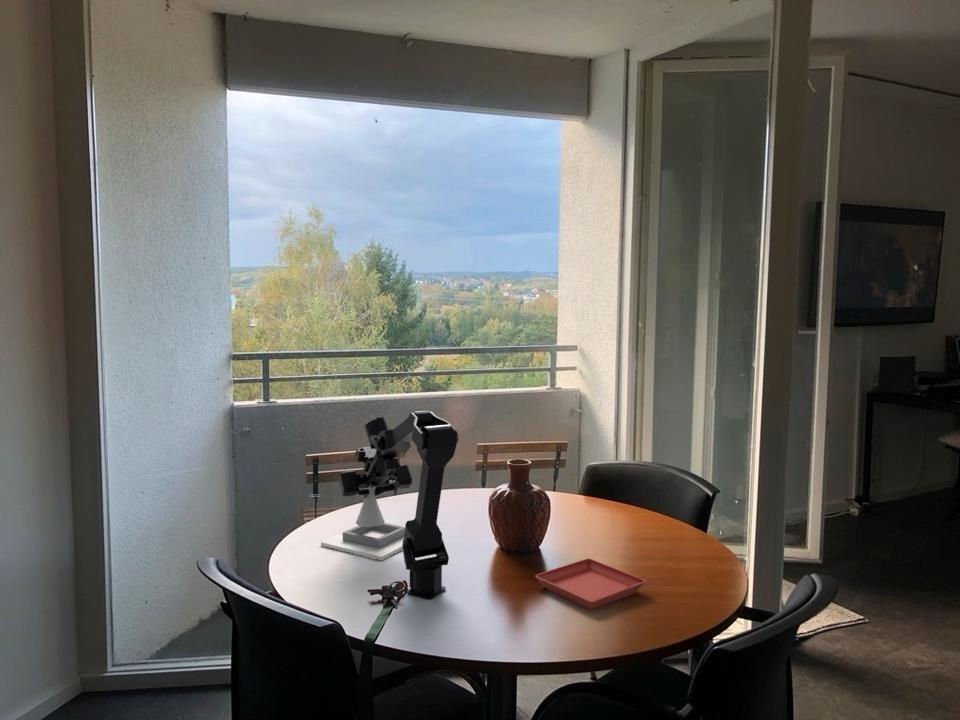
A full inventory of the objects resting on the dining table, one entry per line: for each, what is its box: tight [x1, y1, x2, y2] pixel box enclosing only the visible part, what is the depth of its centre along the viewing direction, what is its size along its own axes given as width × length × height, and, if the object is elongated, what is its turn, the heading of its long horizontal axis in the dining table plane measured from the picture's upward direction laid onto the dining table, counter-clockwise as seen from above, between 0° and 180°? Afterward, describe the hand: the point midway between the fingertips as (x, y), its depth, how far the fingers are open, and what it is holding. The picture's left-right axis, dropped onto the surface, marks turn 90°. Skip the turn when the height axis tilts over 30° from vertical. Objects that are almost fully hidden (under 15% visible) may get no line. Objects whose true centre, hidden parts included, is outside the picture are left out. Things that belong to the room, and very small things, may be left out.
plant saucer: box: [534, 558, 647, 610], centre depth 163 cm, size 18×18×3 cm
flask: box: [355, 486, 386, 527], centre depth 192 cm, size 7×7×10 cm
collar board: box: [320, 522, 405, 561], centre depth 193 cm, size 20×20×3 cm
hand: (368, 496), depth 193 cm, fingers closed on flask, 3 cm apart
